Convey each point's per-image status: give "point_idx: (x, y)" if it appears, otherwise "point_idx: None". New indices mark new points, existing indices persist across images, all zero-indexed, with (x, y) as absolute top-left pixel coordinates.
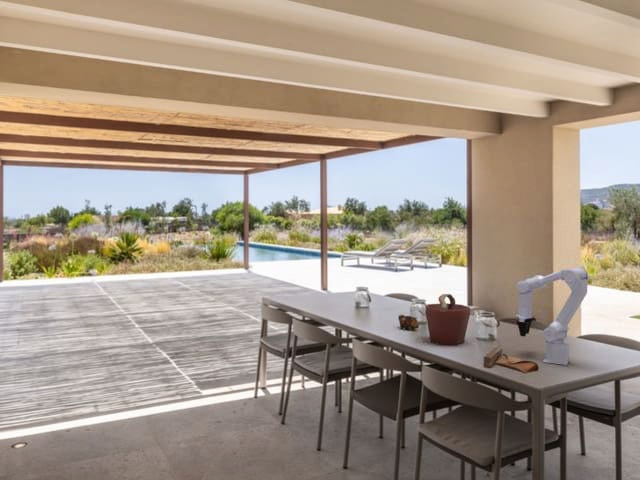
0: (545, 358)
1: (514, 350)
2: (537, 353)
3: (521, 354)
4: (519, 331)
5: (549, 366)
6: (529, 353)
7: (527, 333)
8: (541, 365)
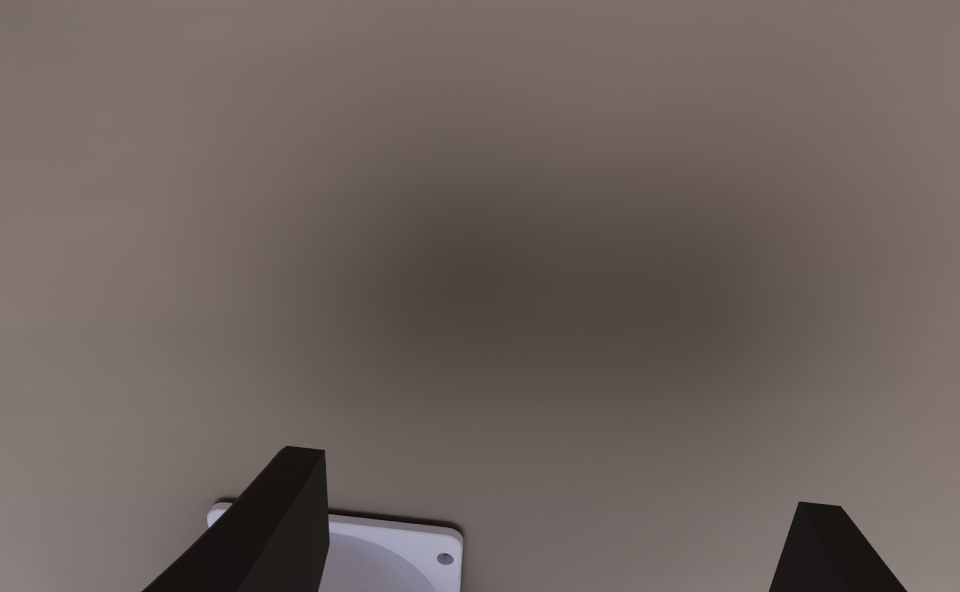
0: (381, 528)
1: (873, 29)
2: (758, 420)
3: (553, 197)
4: (206, 531)
5: (67, 548)
6: (703, 313)
7: (776, 583)
8: (41, 477)
